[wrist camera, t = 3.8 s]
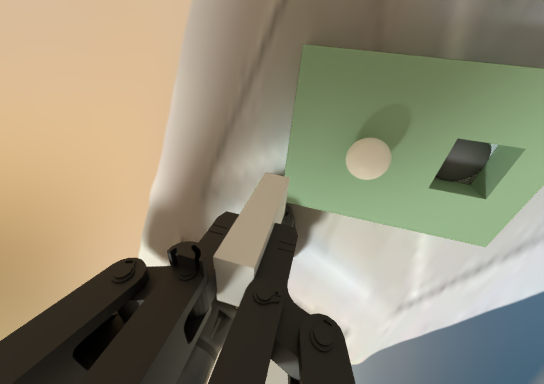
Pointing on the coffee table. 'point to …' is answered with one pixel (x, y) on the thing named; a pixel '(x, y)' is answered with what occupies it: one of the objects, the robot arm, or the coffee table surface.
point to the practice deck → (418, 140)
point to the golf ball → (368, 158)
